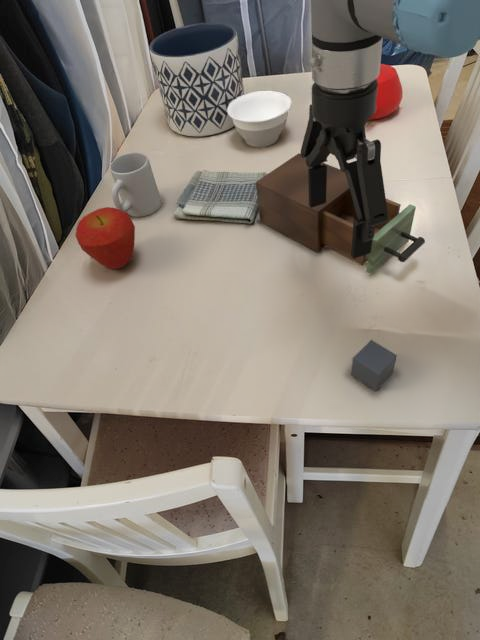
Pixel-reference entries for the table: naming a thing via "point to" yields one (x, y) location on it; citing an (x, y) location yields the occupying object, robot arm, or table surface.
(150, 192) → the mug
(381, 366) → the block
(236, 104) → the bowl
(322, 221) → the drawer
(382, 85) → the teapot
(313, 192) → the robot arm
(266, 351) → the table surface
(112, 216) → the apple
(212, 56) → the planter
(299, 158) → the cabinet
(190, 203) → the dish towel
